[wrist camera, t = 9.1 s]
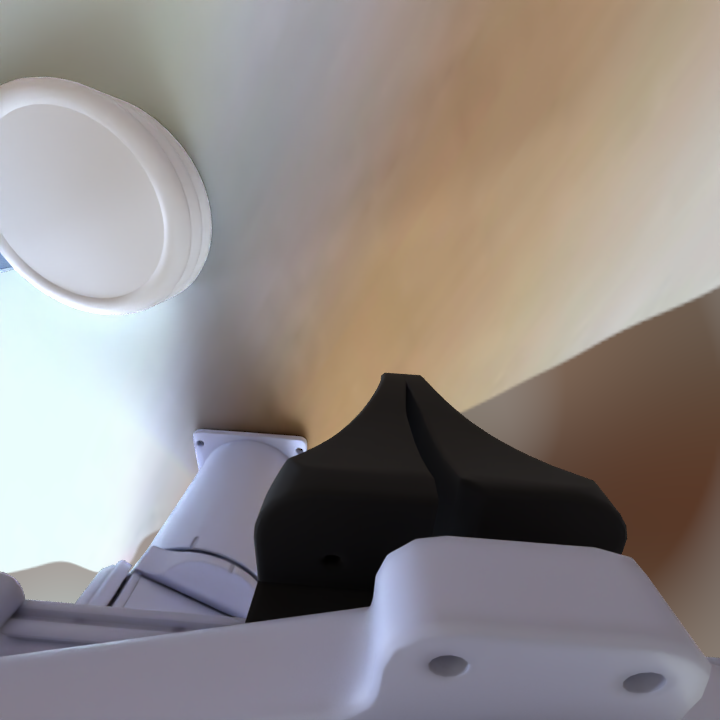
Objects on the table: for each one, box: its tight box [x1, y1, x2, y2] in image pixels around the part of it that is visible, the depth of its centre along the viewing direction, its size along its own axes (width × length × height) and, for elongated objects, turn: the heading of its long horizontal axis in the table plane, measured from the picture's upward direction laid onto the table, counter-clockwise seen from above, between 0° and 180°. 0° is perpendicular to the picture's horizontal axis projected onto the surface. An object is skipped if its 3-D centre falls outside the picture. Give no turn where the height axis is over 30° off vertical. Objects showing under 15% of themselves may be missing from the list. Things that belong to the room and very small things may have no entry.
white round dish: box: [0, 77, 212, 315], centre depth 17 cm, size 10×10×4 cm
